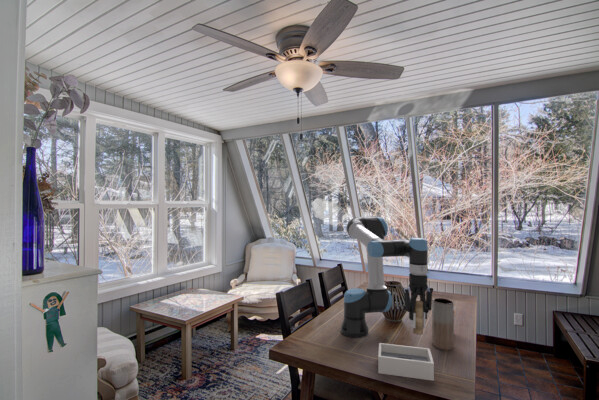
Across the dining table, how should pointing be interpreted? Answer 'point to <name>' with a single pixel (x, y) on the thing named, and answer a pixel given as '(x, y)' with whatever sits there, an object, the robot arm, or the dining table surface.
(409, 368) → the box
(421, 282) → the robot arm
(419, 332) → the dowel
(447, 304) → the planter
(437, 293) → the dining table surface
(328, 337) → the dining table surface
